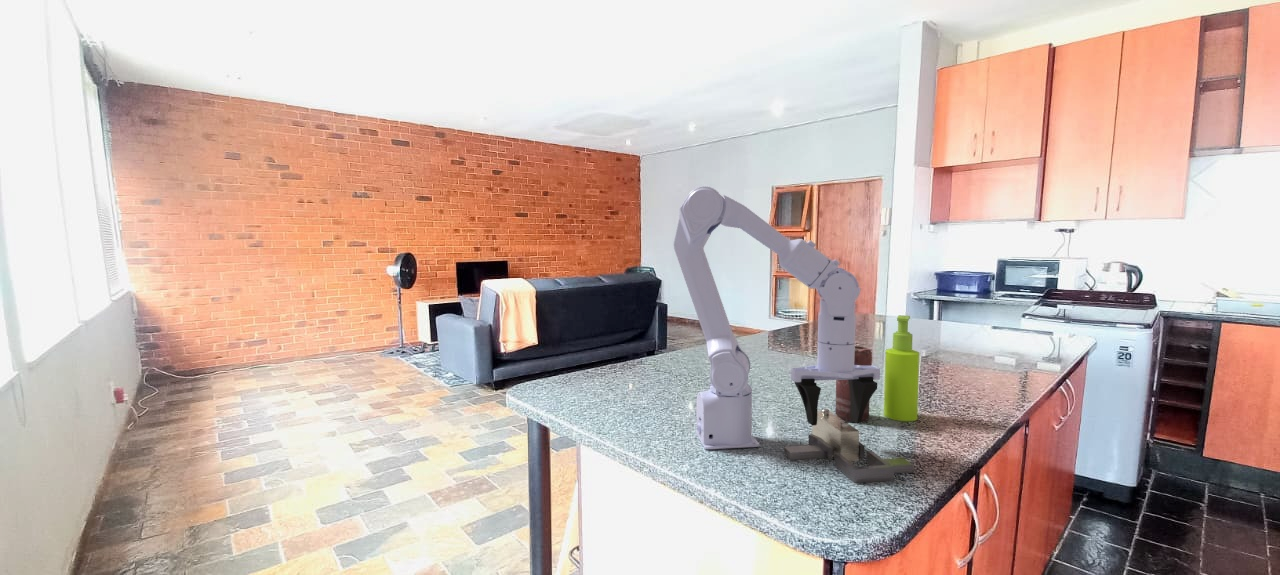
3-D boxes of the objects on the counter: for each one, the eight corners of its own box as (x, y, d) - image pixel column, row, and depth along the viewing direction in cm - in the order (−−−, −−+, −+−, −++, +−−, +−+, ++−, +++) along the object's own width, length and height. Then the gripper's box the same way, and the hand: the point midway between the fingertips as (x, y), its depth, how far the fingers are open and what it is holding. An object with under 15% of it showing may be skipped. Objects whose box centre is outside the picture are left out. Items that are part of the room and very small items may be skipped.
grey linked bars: (813, 485, 70) (814, 471, 70) (777, 447, 84) (777, 435, 84) (922, 478, 72) (922, 465, 72) (869, 442, 86) (869, 430, 85)
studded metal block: (840, 463, 78) (840, 427, 77) (811, 438, 88) (812, 407, 87) (858, 461, 78) (859, 426, 78) (828, 438, 88) (828, 406, 88)
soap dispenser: (918, 413, 100) (921, 315, 99) (916, 423, 94) (919, 319, 93) (886, 408, 103) (888, 313, 102) (882, 418, 97) (884, 317, 96)
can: (874, 424, 94) (875, 351, 93) (838, 422, 96) (840, 350, 94) (866, 413, 100) (867, 345, 99) (833, 412, 101) (834, 344, 100)
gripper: (804, 347, 77) (802, 432, 78) (892, 345, 78) (889, 429, 79) (786, 339, 84) (784, 417, 85) (867, 337, 85) (865, 414, 86)
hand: (833, 422), depth 83 cm, fingers open, 7 cm apart
